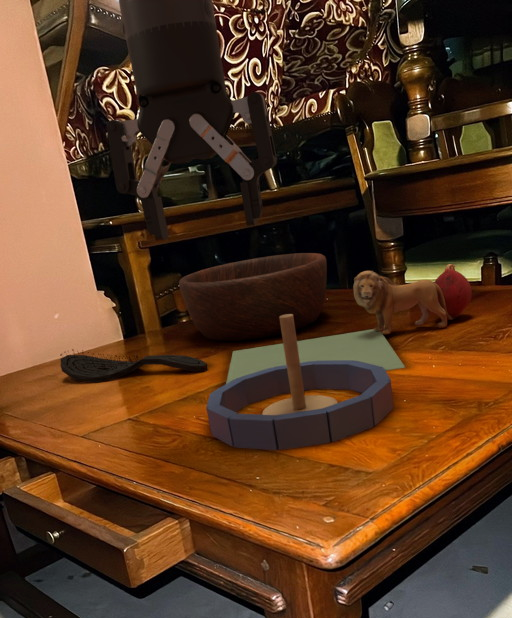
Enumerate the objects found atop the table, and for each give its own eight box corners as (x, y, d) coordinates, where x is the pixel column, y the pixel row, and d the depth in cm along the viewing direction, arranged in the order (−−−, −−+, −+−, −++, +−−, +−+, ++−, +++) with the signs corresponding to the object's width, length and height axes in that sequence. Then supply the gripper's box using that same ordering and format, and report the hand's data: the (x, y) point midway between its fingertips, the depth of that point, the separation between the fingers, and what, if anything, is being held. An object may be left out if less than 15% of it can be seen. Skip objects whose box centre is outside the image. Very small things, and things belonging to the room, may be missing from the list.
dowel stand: (335, 401, 77) (323, 302, 73) (342, 425, 69) (329, 317, 65) (264, 411, 77) (248, 314, 73) (263, 437, 70) (245, 330, 66)
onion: (467, 323, 99) (464, 266, 96) (427, 325, 102) (423, 270, 99) (476, 313, 104) (474, 259, 101) (438, 315, 107) (435, 262, 104)
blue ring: (377, 380, 81) (374, 351, 80) (406, 437, 64) (403, 401, 63) (220, 403, 83) (214, 375, 81) (206, 465, 65) (199, 431, 64)
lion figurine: (362, 340, 97) (358, 275, 93) (350, 333, 101) (346, 270, 98) (460, 325, 99) (461, 261, 95) (444, 319, 103) (444, 257, 100)
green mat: (379, 332, 103) (378, 328, 103) (405, 371, 82) (405, 367, 82) (233, 354, 105) (232, 351, 104) (224, 399, 84) (223, 394, 84)
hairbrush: (189, 359, 94) (45, 358, 104) (193, 385, 95) (51, 381, 106) (217, 343, 101) (79, 343, 111) (220, 367, 102) (84, 366, 113)
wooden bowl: (162, 341, 122) (149, 283, 118) (267, 307, 136) (259, 254, 132) (252, 352, 104) (241, 283, 100) (363, 312, 118) (357, 250, 114)
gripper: (261, 19, 59) (288, 217, 65) (105, 52, 62) (145, 240, 68) (247, 1, 52) (278, 225, 58) (72, 40, 55) (119, 249, 61)
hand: (206, 232), depth 63 cm, fingers open, 8 cm apart
